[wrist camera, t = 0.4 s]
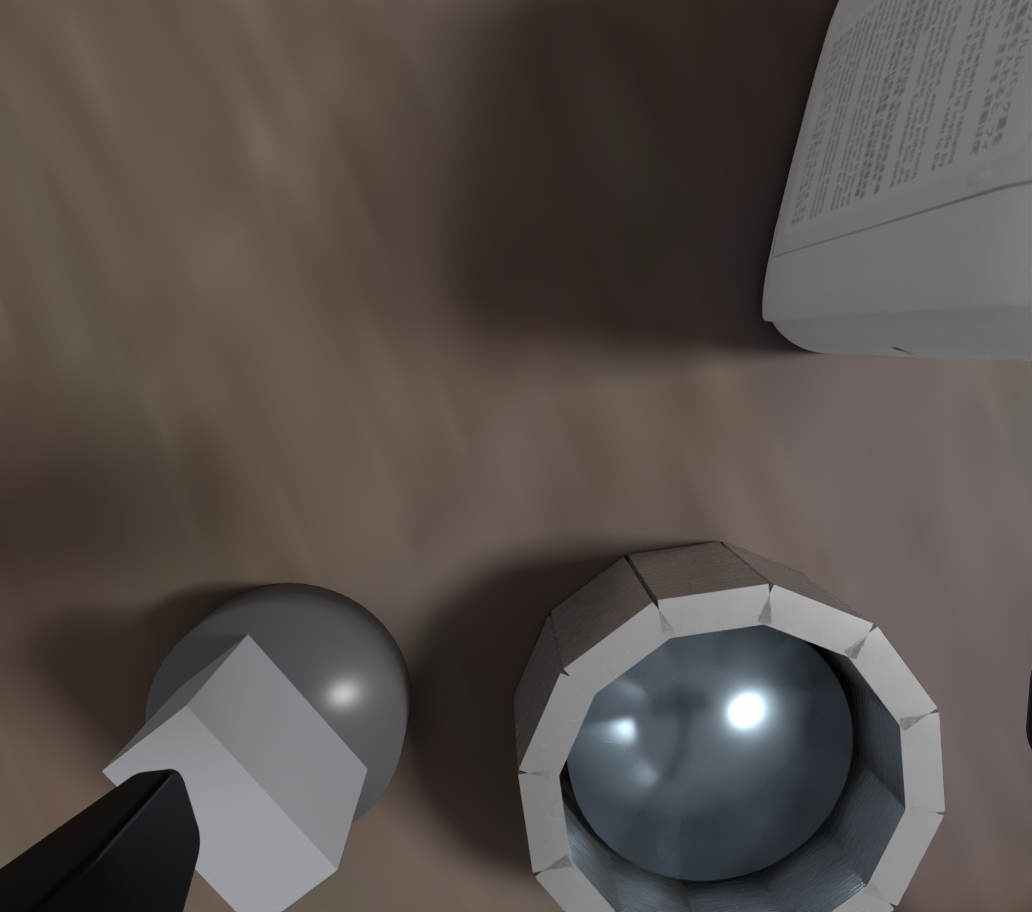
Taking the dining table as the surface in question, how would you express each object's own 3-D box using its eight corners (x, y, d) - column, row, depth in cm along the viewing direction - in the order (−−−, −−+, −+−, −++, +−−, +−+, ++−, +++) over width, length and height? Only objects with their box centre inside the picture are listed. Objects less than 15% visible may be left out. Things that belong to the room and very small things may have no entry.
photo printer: (881, 371, 21) (1415, 398, 9) (737, 340, 21) (1084, 324, 9) (984, -5, 20) (1783, -583, 8) (832, -43, 20) (1404, -706, 7)
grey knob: (281, 844, 23) (206, 1019, 17) (127, 677, 22) (-10, 799, 16) (458, 711, 22) (446, 841, 16) (308, 535, 21) (237, 605, 15)
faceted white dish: (655, 934, 23) (688, 1053, 19) (447, 690, 22) (436, 764, 18) (928, 739, 23) (1020, 820, 19) (731, 474, 21) (785, 502, 17)
